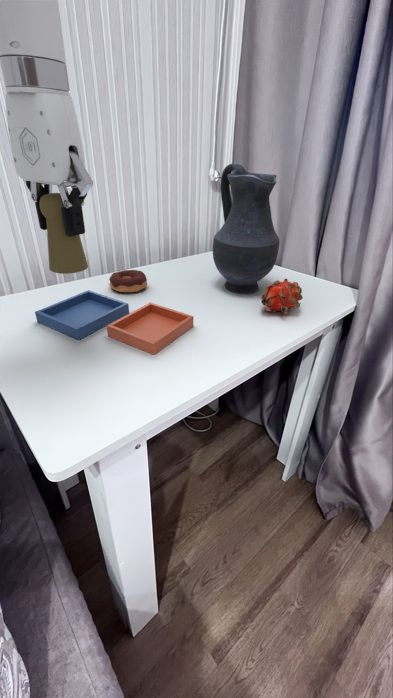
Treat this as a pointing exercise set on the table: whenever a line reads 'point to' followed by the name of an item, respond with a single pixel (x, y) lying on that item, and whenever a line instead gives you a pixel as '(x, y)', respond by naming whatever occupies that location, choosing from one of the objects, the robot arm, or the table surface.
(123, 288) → the donut
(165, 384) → the table surface
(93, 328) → the blue tray
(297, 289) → the dragon fruit
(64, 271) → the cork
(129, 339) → the terracotta tray
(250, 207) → the pitcher
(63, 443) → the table surface
